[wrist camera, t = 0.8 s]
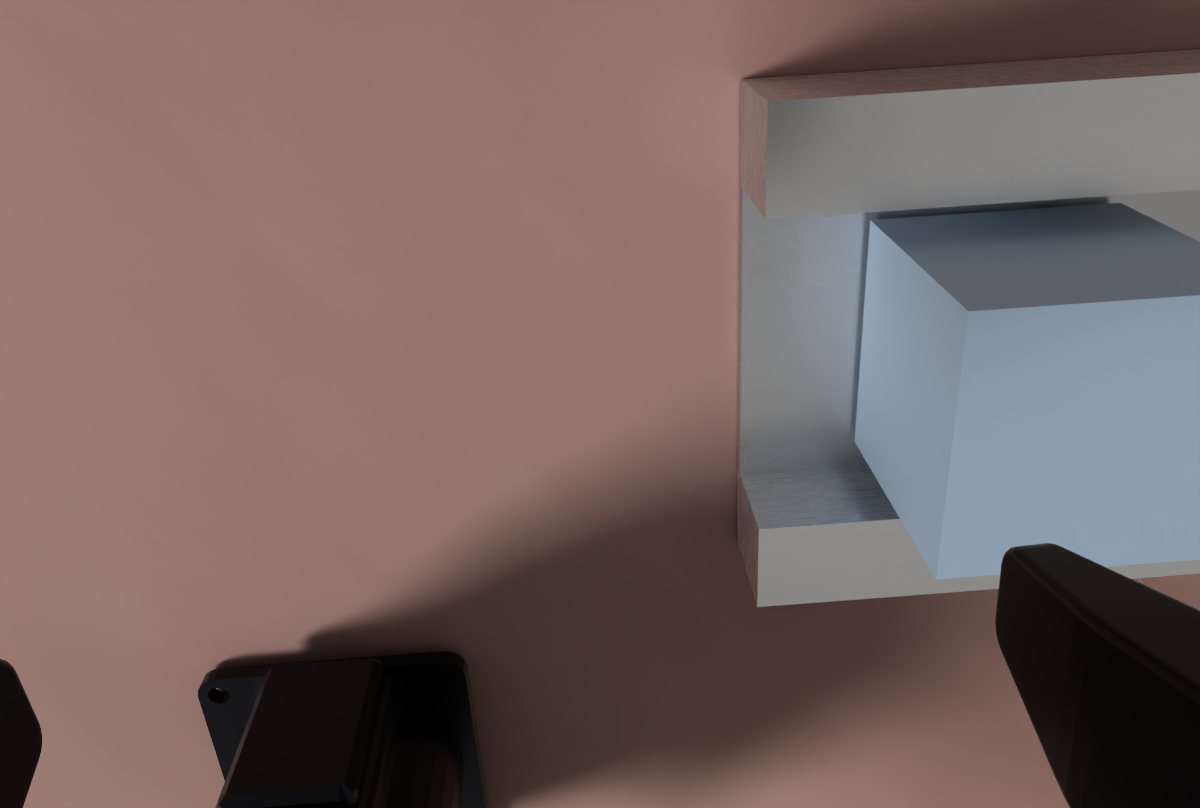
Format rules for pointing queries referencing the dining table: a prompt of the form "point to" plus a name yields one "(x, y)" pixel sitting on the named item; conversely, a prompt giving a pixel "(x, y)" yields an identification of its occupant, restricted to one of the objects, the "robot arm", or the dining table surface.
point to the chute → (839, 264)
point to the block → (1034, 384)
